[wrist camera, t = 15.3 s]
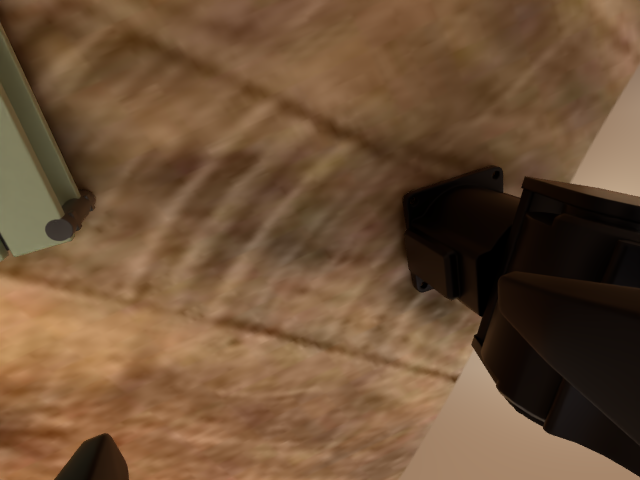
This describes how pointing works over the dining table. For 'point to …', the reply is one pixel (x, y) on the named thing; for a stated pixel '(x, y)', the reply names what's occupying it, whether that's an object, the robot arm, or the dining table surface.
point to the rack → (32, 170)
